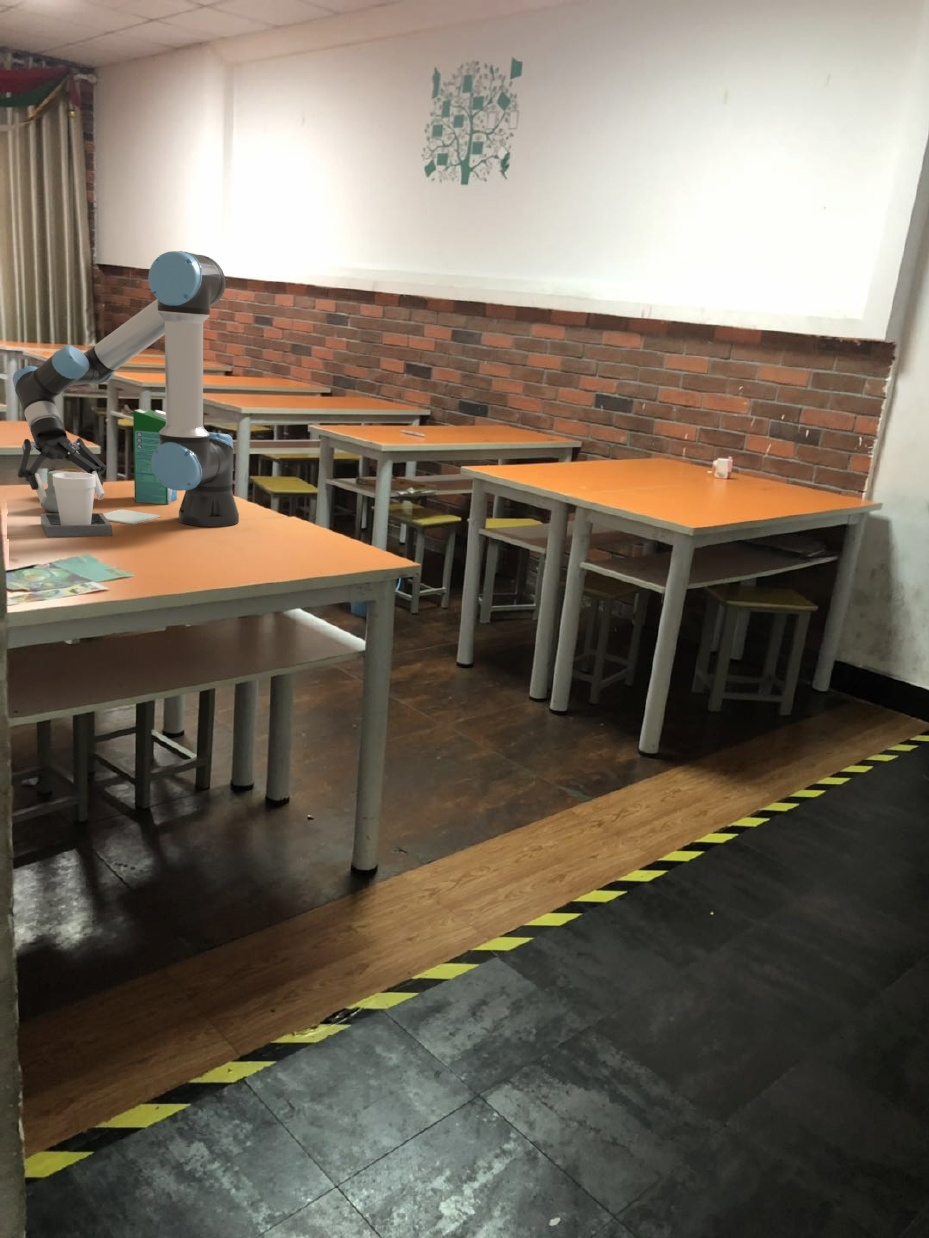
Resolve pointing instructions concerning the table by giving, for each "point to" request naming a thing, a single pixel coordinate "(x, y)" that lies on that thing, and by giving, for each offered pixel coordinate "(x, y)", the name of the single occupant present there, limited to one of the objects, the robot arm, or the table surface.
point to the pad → (129, 516)
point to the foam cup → (74, 497)
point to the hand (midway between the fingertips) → (73, 498)
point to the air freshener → (51, 494)
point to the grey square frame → (76, 526)
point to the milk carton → (148, 457)
